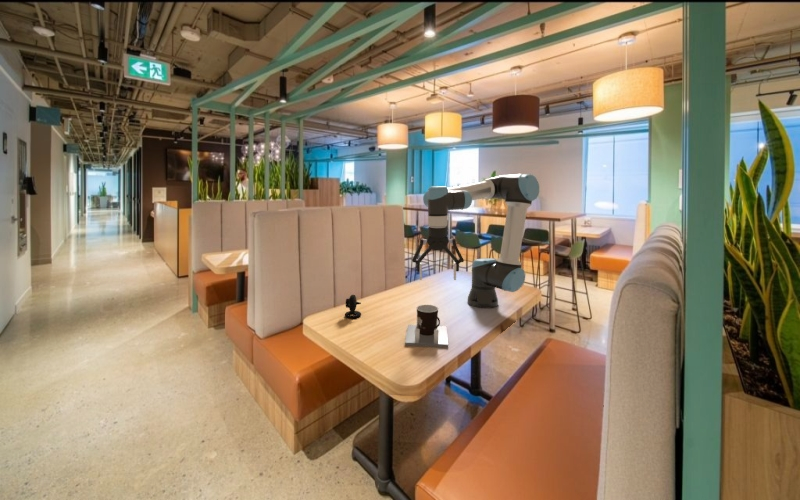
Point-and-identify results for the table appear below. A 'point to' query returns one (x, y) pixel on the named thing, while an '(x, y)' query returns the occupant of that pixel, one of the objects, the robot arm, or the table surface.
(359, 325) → the table surface
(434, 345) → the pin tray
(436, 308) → the coffee mug
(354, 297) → the webcam
